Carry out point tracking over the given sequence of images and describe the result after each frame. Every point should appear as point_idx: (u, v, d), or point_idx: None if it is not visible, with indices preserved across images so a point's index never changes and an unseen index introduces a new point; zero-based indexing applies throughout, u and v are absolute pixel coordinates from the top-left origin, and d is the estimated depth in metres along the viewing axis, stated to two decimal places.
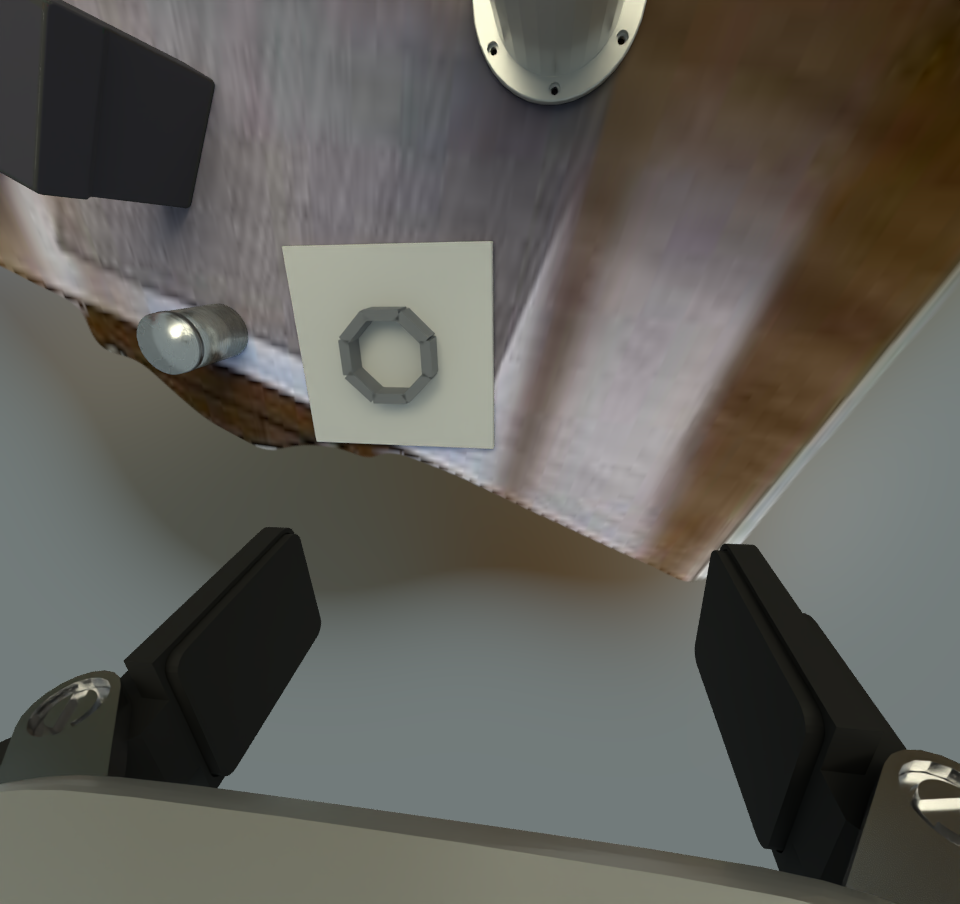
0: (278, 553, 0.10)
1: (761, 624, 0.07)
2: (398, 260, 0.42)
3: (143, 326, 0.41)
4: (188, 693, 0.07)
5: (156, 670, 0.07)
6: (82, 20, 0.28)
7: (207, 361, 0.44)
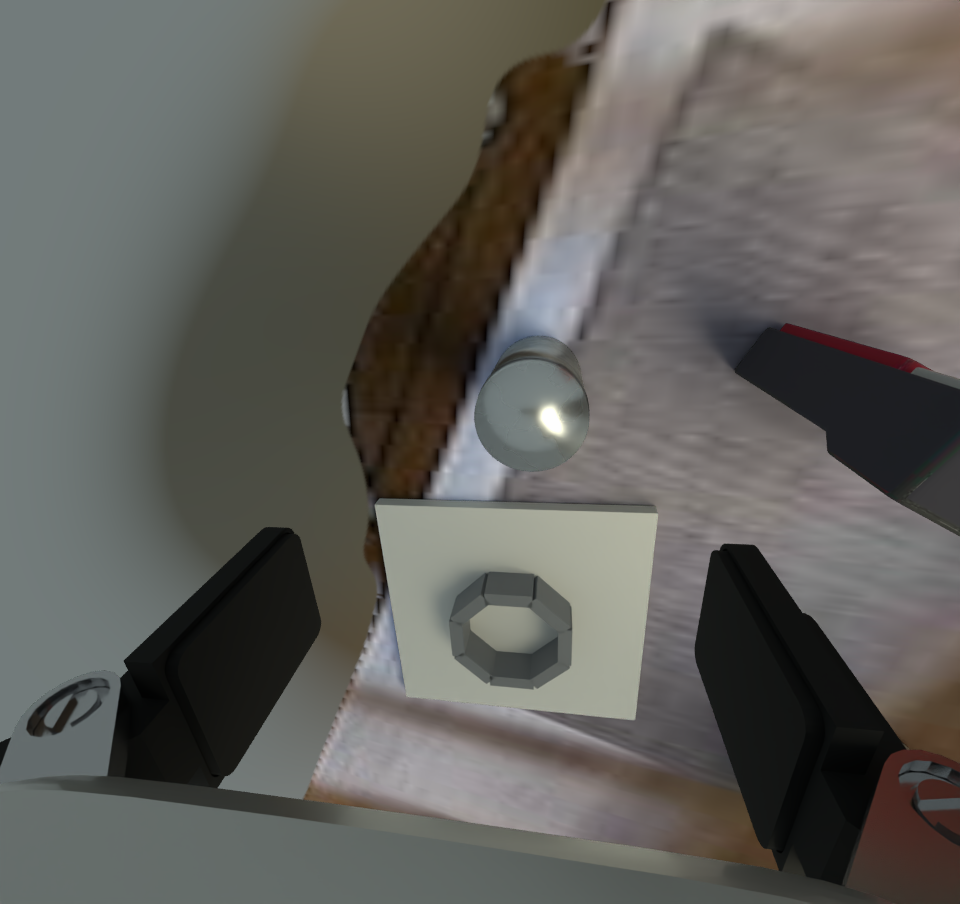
0: (278, 553, 0.10)
1: (761, 624, 0.07)
2: (624, 640, 0.35)
3: (565, 385, 0.21)
4: (188, 693, 0.07)
5: (156, 670, 0.07)
6: None
7: None
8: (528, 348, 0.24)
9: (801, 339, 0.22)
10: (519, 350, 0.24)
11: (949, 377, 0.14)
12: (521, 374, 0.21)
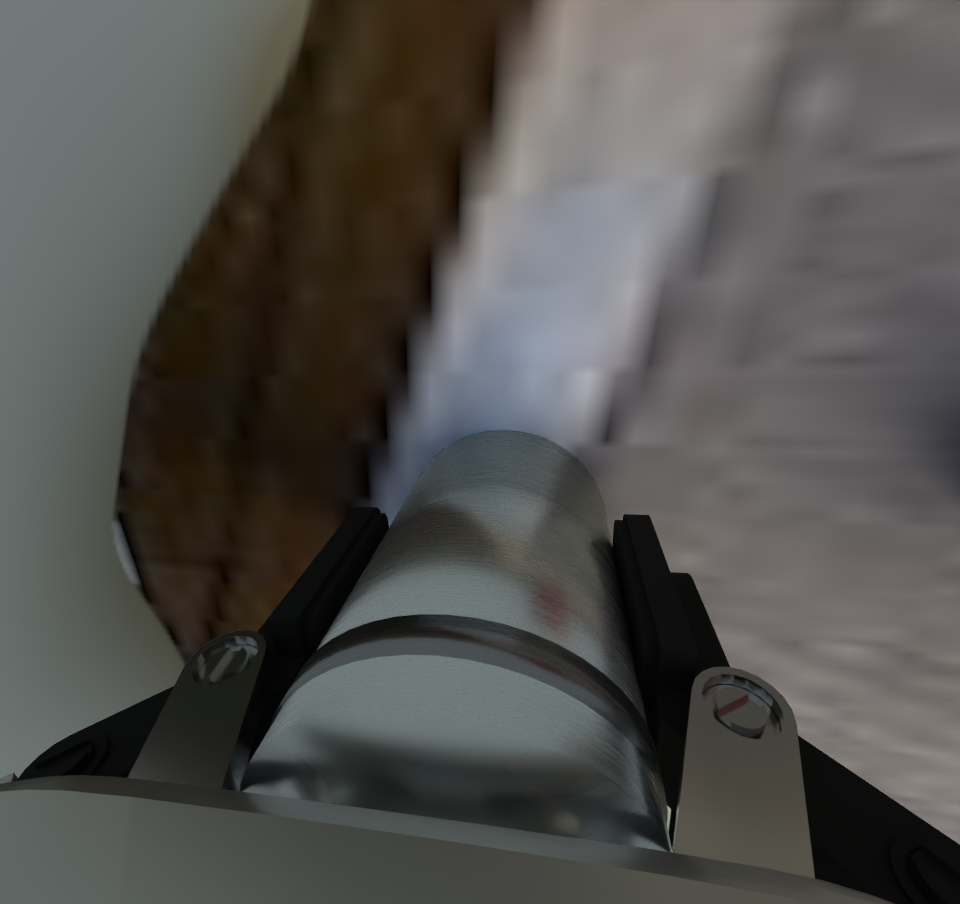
0: (373, 530, 0.10)
1: (633, 576, 0.08)
2: None
3: (578, 797, 0.05)
4: None
5: (295, 629, 0.08)
6: None
7: None
8: (462, 514, 0.08)
9: None
10: (436, 518, 0.08)
11: None
12: (390, 741, 0.05)
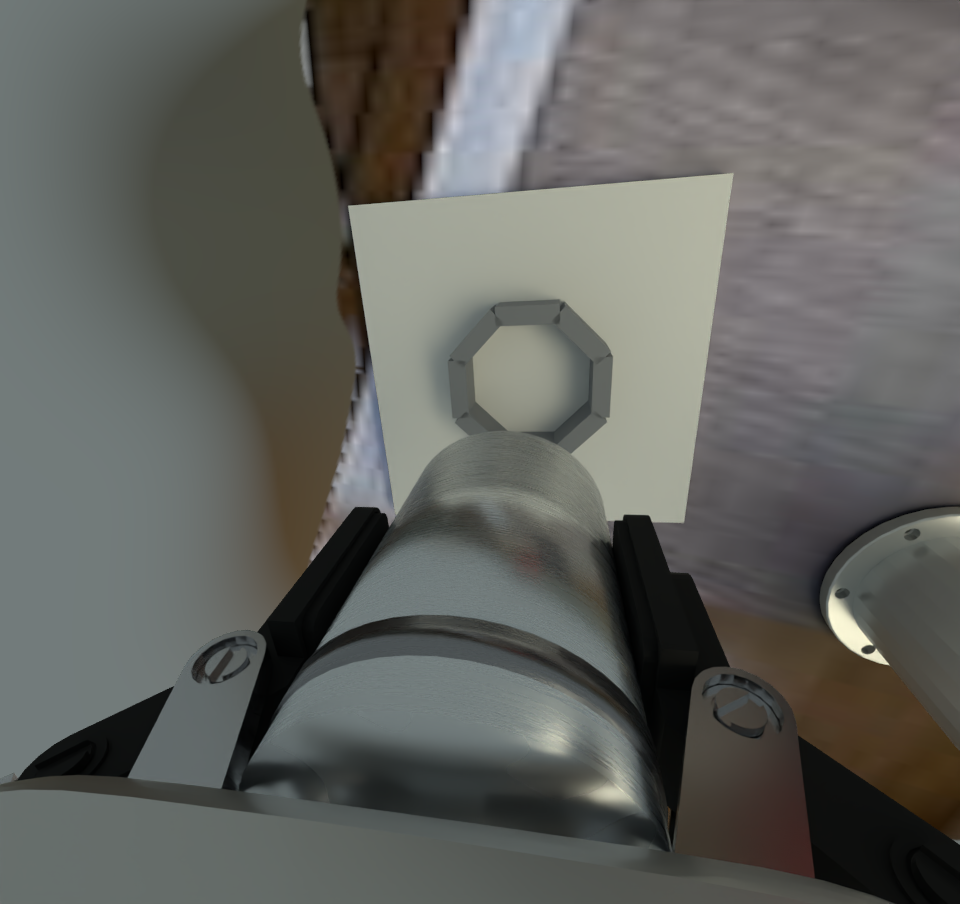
0: (374, 530, 0.10)
1: (633, 577, 0.08)
2: (675, 397, 0.27)
3: (578, 798, 0.05)
4: None
5: (296, 629, 0.08)
6: None
7: None
8: (461, 514, 0.08)
9: None
10: (436, 518, 0.08)
11: None
12: (390, 742, 0.05)
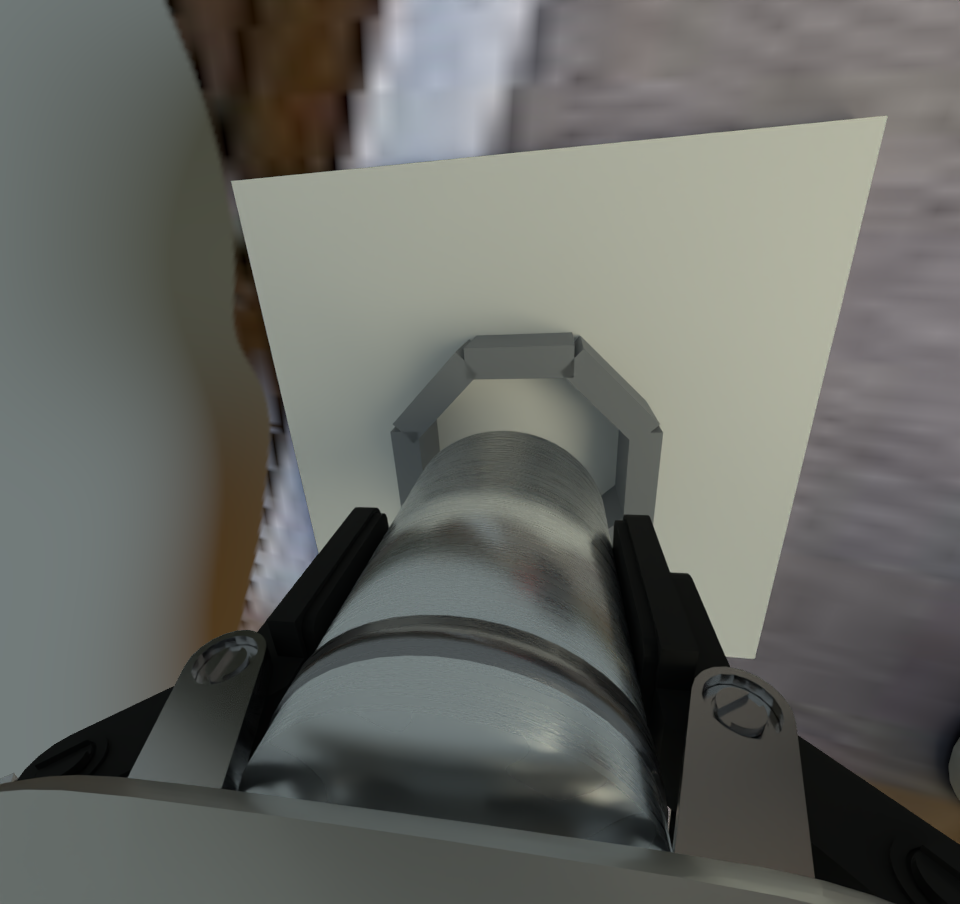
0: (373, 530, 0.10)
1: (633, 576, 0.08)
2: (754, 484, 0.17)
3: (578, 799, 0.05)
4: None
5: (295, 629, 0.08)
6: None
7: None
8: (461, 514, 0.08)
9: None
10: (435, 518, 0.08)
11: None
12: (389, 742, 0.05)
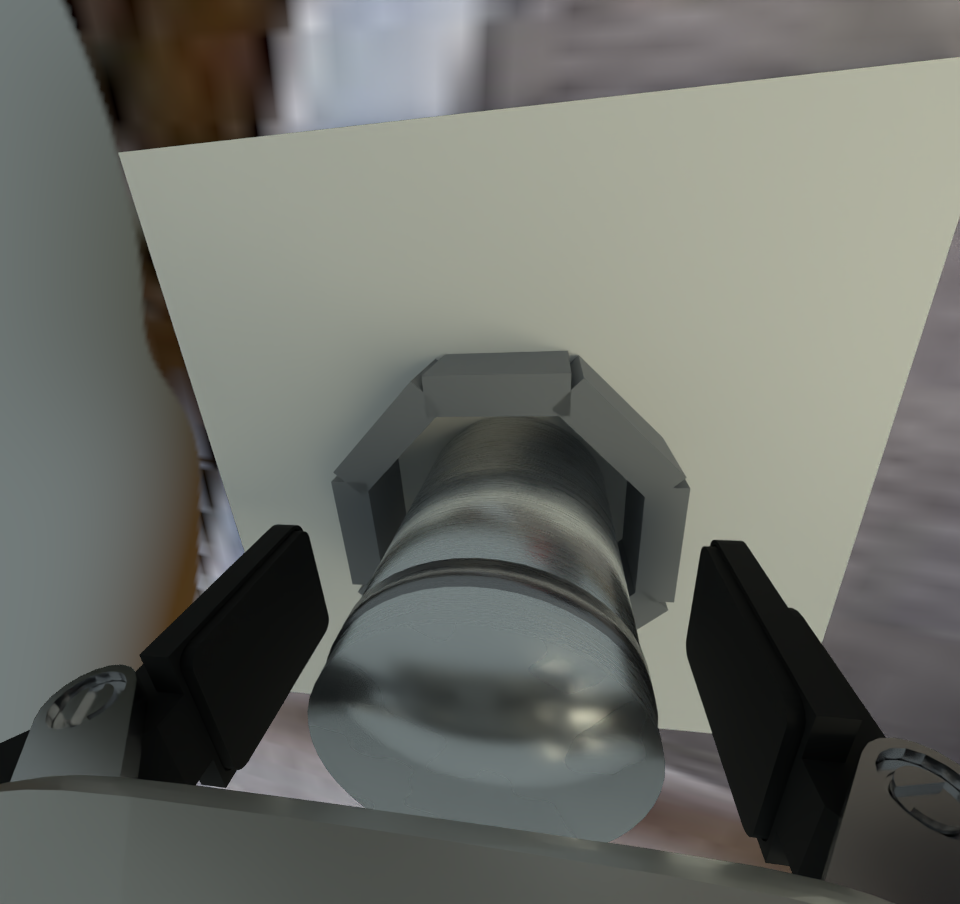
0: (288, 550, 0.10)
1: (747, 617, 0.07)
2: (799, 542, 0.13)
3: (585, 691, 0.06)
4: (202, 687, 0.07)
5: (171, 664, 0.07)
6: None
7: None
8: (481, 484, 0.09)
9: None
10: (458, 488, 0.09)
11: None
12: (436, 650, 0.06)
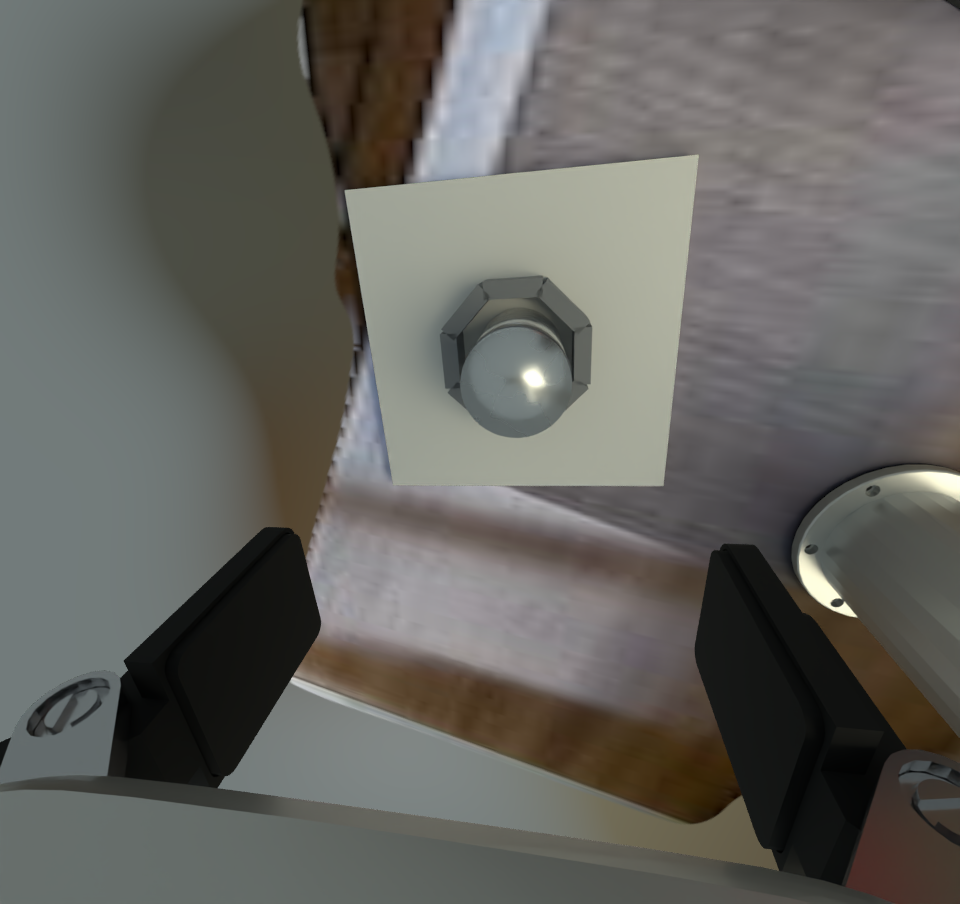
0: (278, 553, 0.10)
1: (761, 624, 0.07)
2: (652, 366, 0.29)
3: (546, 350, 0.21)
4: (188, 693, 0.07)
5: (156, 670, 0.07)
6: None
7: None
8: (508, 318, 0.25)
9: None
10: (500, 321, 0.25)
11: None
12: (503, 341, 0.21)
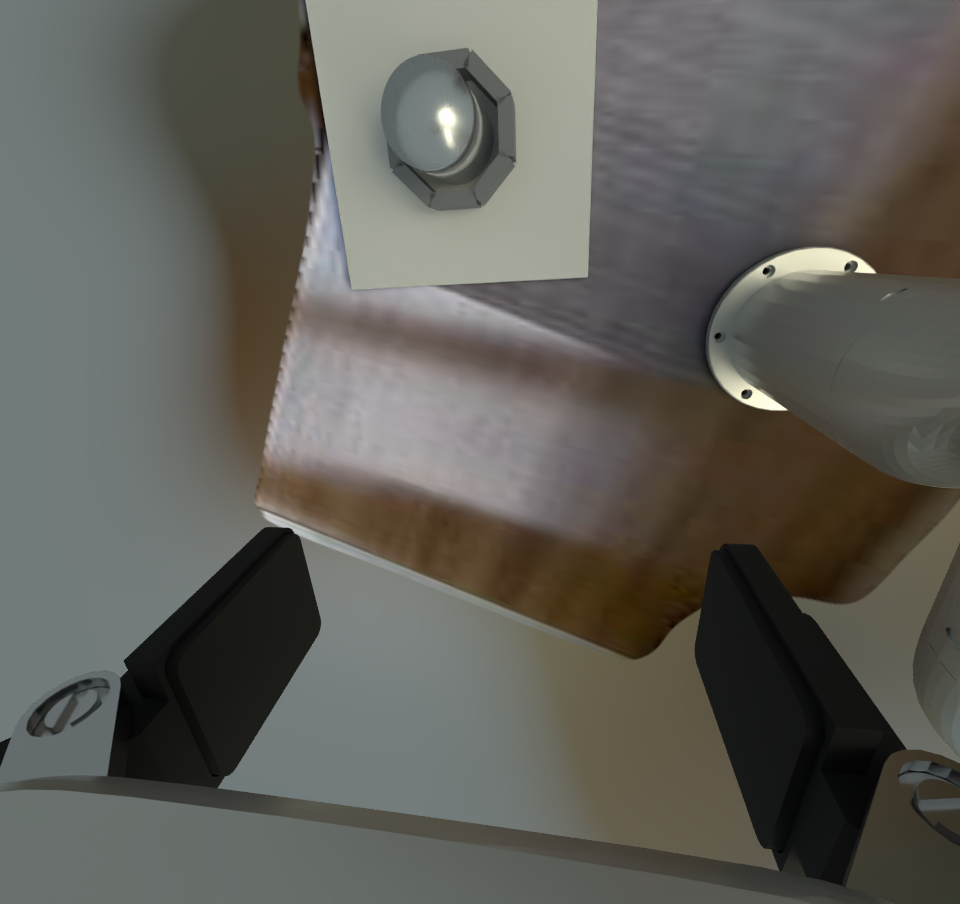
0: (278, 553, 0.10)
1: (761, 624, 0.07)
2: (571, 151, 0.33)
3: (445, 71, 0.25)
4: (188, 693, 0.07)
5: (156, 670, 0.07)
6: None
7: None
8: None
9: None
10: None
11: None
12: (410, 69, 0.26)
